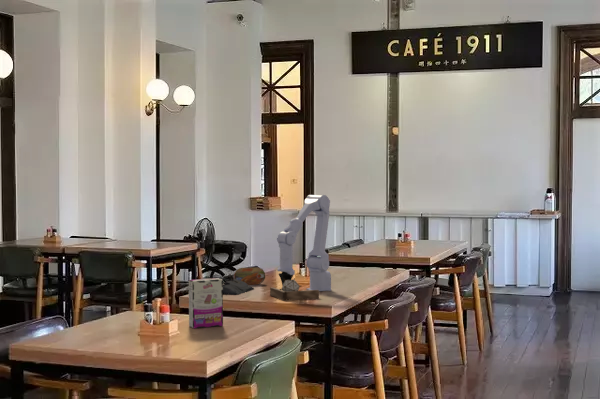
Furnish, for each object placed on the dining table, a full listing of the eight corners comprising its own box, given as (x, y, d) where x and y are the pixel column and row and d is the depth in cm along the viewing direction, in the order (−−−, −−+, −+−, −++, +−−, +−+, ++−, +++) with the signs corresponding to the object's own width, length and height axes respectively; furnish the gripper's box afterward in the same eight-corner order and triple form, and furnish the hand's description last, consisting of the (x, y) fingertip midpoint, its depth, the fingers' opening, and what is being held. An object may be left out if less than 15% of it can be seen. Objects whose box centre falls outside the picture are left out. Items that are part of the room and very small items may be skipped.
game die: (293, 305, 336) (299, 289, 330) (275, 298, 337) (281, 281, 331) (299, 293, 343) (305, 277, 337) (281, 285, 344) (287, 269, 338)
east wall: (273, 295, 341) (273, 287, 341) (286, 300, 328) (287, 292, 328) (270, 295, 341) (270, 287, 340) (283, 300, 327) (283, 292, 327)
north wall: (317, 297, 335) (317, 289, 335) (318, 298, 334) (318, 290, 334) (282, 299, 328) (282, 291, 328) (283, 300, 327) (283, 292, 327)
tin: (234, 285, 372) (234, 267, 372) (233, 284, 375) (233, 267, 375) (265, 284, 375) (265, 267, 375) (264, 283, 378) (264, 266, 378)
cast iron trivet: (206, 294, 345) (206, 283, 345) (226, 287, 366) (226, 277, 366) (238, 296, 340) (238, 285, 340) (256, 289, 361) (256, 279, 361)
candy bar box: (218, 323, 274) (218, 277, 273) (223, 326, 269) (223, 279, 269) (187, 326, 269) (188, 279, 268) (192, 328, 264) (193, 281, 264)
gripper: (271, 257, 347) (271, 287, 348) (284, 260, 334) (284, 292, 335) (285, 256, 350) (285, 286, 351) (299, 260, 337) (298, 291, 338)
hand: (285, 289), depth 343 cm, fingers closed
